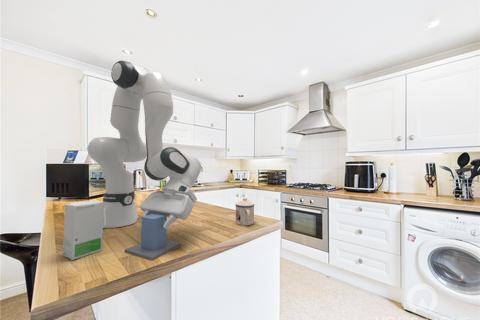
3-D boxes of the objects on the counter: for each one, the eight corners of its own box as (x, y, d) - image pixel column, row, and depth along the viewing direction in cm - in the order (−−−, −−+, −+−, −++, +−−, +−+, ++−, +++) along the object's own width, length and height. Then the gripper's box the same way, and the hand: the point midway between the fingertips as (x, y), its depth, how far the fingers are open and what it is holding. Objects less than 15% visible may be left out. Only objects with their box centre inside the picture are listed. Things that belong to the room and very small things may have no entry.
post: (124, 252, 62) (125, 227, 63) (155, 238, 73) (156, 217, 73) (152, 260, 57) (152, 233, 57) (181, 245, 68) (181, 222, 68)
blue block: (141, 247, 64) (141, 216, 64) (154, 241, 69) (155, 213, 69) (153, 250, 62) (153, 219, 62) (166, 244, 67) (166, 215, 67)
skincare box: (71, 261, 57) (72, 206, 57) (61, 255, 60) (62, 203, 60) (103, 249, 64) (104, 201, 64) (93, 245, 67) (94, 199, 67)
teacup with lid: (233, 220, 98) (233, 196, 98) (251, 219, 100) (251, 196, 100) (238, 228, 86) (238, 201, 86) (258, 227, 88) (258, 200, 88)
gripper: (150, 185, 76) (126, 216, 67) (193, 188, 68) (171, 225, 59) (159, 195, 80) (137, 226, 71) (200, 199, 72) (181, 235, 63)
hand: (153, 226), depth 65 cm, fingers open, 8 cm apart
